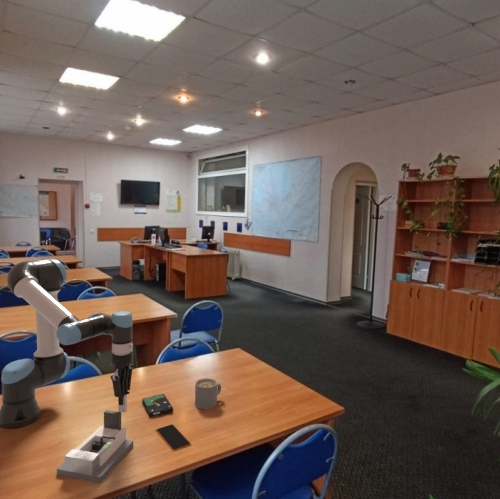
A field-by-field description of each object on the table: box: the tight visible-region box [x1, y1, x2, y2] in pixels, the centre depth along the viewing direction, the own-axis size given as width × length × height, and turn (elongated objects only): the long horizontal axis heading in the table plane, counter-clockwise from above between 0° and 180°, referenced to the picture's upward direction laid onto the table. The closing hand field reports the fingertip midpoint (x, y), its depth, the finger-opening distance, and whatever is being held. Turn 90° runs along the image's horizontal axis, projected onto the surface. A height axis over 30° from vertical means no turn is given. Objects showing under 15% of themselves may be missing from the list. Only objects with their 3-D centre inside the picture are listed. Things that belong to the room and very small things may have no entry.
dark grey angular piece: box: [92, 435, 115, 450], centre depth 140 cm, size 8×2×5 cm, turn 78°
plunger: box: [95, 409, 122, 443], centre depth 144 cm, size 6×7×10 cm
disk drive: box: [141, 393, 174, 418], centre depth 176 cm, size 10×3×15 cm
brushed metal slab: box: [64, 448, 99, 476], centre depth 129 cm, size 10×4×5 cm, turn 78°
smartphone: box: [155, 423, 192, 452], centre depth 153 cm, size 8×17×1 cm, turn 36°
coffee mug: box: [194, 377, 222, 410], centre depth 181 cm, size 13×10×10 cm
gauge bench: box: [56, 424, 134, 484], centre depth 138 cm, size 16×21×6 cm
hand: (122, 411), depth 153 cm, fingers closed
